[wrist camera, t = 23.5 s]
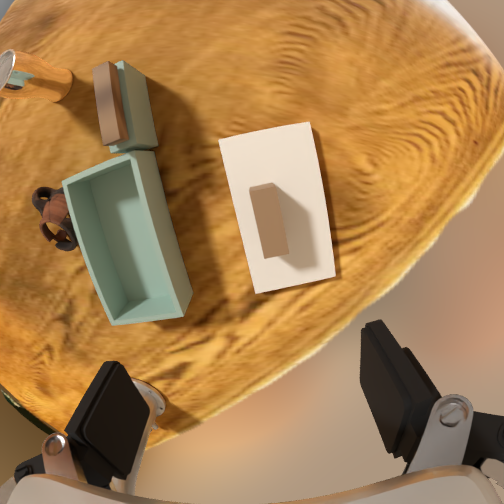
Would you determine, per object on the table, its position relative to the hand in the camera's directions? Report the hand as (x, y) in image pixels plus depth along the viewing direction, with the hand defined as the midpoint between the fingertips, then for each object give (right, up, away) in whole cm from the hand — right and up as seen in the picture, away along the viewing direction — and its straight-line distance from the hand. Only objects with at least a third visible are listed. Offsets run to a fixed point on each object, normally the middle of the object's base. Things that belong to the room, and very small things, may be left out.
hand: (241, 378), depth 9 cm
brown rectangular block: (-16, +22, +16) cm, 31 cm away
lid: (+4, +11, +29) cm, 31 cm away
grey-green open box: (-18, +13, +28) cm, 35 cm away
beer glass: (-32, +32, +21) cm, 50 cm away
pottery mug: (-29, +12, +28) cm, 42 cm away
